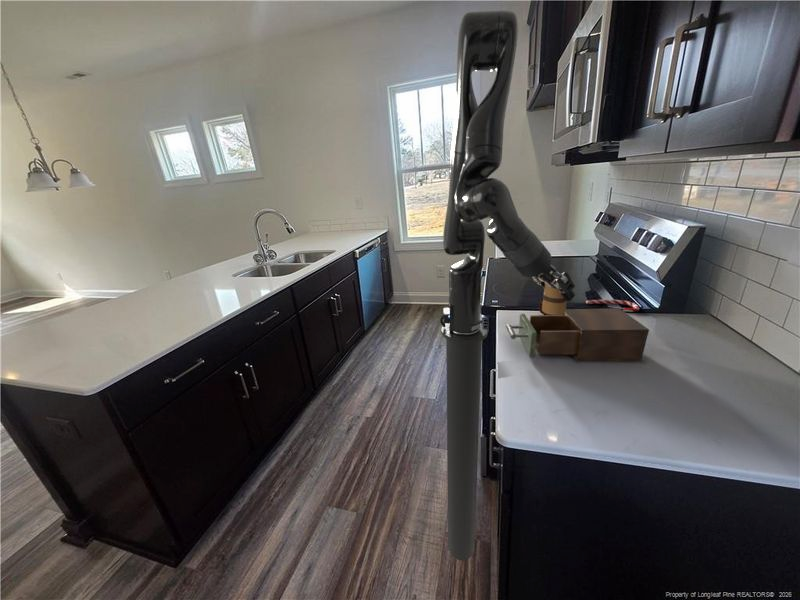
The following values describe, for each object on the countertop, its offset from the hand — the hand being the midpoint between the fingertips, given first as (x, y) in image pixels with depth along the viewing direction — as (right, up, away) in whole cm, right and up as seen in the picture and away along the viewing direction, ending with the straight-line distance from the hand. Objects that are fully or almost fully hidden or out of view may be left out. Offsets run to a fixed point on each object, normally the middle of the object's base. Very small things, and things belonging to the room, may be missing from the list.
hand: (561, 293), depth 77 cm
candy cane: (+32, -4, +29) cm, 43 cm away
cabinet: (+12, -14, +6) cm, 19 cm away
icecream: (+9, -7, +25) cm, 28 cm away
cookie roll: (-1, -4, +1) cm, 5 cm away
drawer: (-2, -14, +7) cm, 15 cm away
